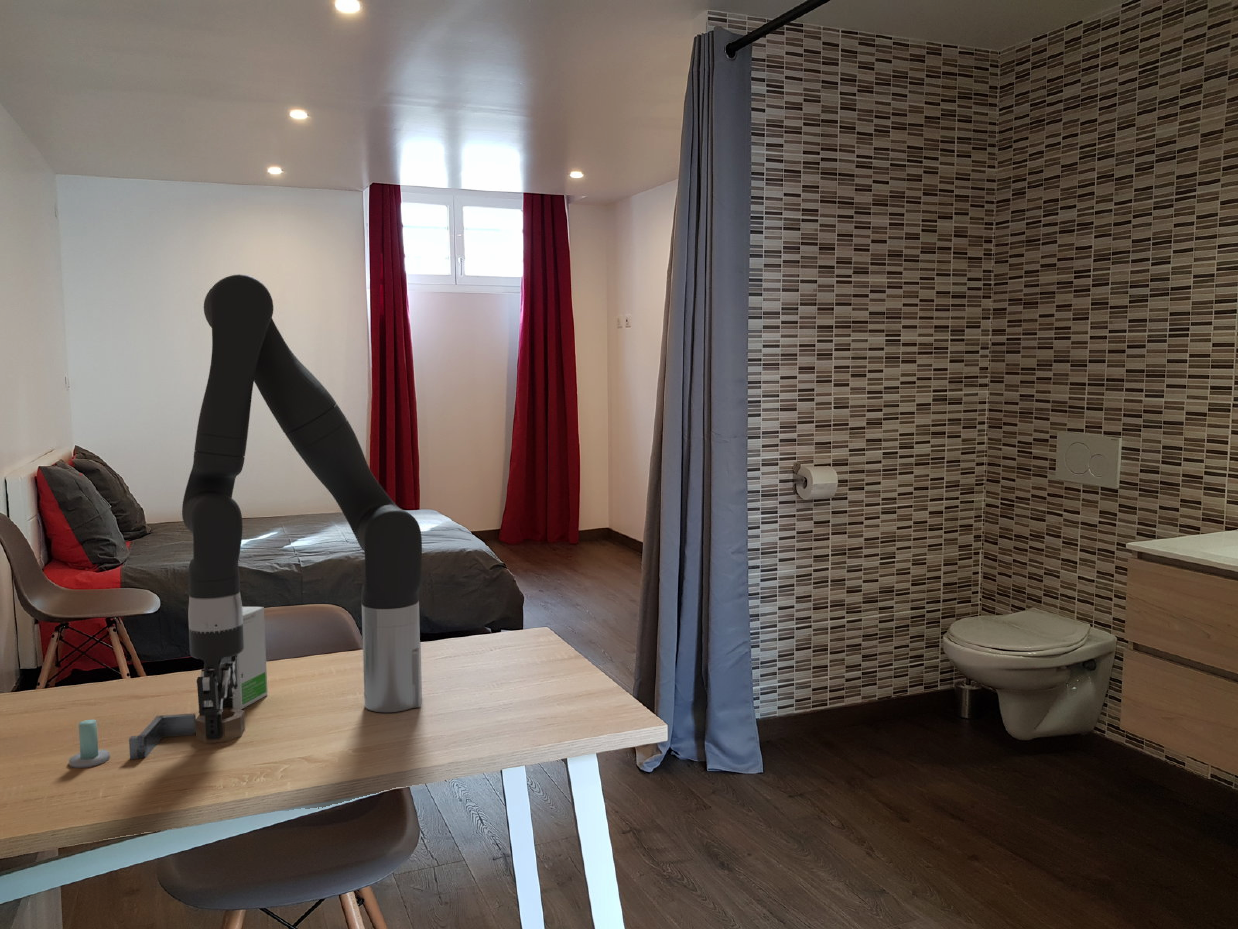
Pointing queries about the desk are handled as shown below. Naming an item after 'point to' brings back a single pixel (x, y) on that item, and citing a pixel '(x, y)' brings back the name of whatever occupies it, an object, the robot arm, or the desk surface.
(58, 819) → the desk surface
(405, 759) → the desk surface
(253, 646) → the skincare box
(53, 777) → the desk surface
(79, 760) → the teal flanged peg
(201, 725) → the walnut ring
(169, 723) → the bent rail
